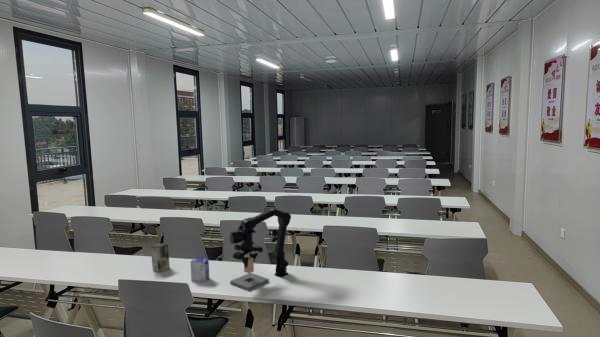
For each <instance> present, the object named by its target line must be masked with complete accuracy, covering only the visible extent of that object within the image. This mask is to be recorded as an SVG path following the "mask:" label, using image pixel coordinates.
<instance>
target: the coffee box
mask: <svg viewBox="0 0 600 337" xmlns="http://www.w3.org/2000/svg"><path fill="white" fill-rule="evenodd" d="M150 252H151V254H150V255H151V265H152V268H151V269H152V271H155V272H157V273H159V272H162V271H163V270H167V269H170V266H171V265H170V257H169V255H170V254H169V244H167V243H164V242H161V243H158V244H155V245H152V246H150Z"/></svg>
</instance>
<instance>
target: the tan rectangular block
mask: <svg viewBox="0 0 600 337" xmlns="http://www.w3.org/2000/svg"><path fill="white" fill-rule="evenodd" d="M247 257H248V264H247V268H245V266H244V265H243V272H245V273H246V274H249V273H253V272H255V270H254V269H255V268H254V266H255V265H254V264H255V262H254V263H253V258H251V257H250V256H247Z"/></svg>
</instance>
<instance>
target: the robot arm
mask: <svg viewBox="0 0 600 337" xmlns="http://www.w3.org/2000/svg"><path fill="white" fill-rule="evenodd" d="M274 216H275V217H277V222H278V230H277V239H276V245H275V249H274V250H271V255H270V258H271V261H272V262H273V263H274V264H275V273H274V276H277V277H280V278H283V277H285V276H287V275H289V272H287V271H288V270H287V269H288V268H287V267H288V266H289V261H287V260H286V259H285V258H286V256H285V250H284V249H285V243H286V242H285V241H286V234H287V228H288V226H289V225H290V223H291V219H292V215H291V214H290V213H289V212H287V211H284V210H278V209H277V208H274V207H271V208H269V209H268V210H266V211H264V212H262V213H259V214H258V215H255V216H253V217H251V216H250V217H247V218H246V217H245V218H244V219H242V220H241V222H240V224H239V226H238V228H237V230H236V231H231V232H230V234H229V239H228V240H229V243H230V244H231V245H234V247H233V248H234V251H237V252H233V254H232V258H233V259H235V260H238V261H239V260H241V262H242V263H243V267H244V266H245V268H247V264H248V257H251V258H253V263H254V264H255V261H256V258H257V256H259V253H263V252H264V248H263V247H262V246H260V245H255V242H254V241H253V240H254V238H253V236H254V235H253V234H255V233H256V232H257V231H256V230H254V228H256V227H257V226H258V224H260V223H262V222H264V221H266V220H268V219H270V218H272V217H274ZM240 243H241V244H240ZM247 255H249V256H247Z"/></svg>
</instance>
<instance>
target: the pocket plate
mask: <svg viewBox="0 0 600 337" xmlns="http://www.w3.org/2000/svg"><path fill="white" fill-rule="evenodd" d="M229 282H230V285H232V286H235V287H237V288H240V289H242V290H245V291H248V292H249V291H252V290H254V289H256V288H259V287H261V286H263V285H265V284H267V283H269V282H270V280H269V278H266V277H263V276H262V275H260V274H259V275H258V274H255V273H253V272H251V273H246V274H244V275H241V276H239V277H237V278H234V279H232V280H230V281H229Z"/></svg>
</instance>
